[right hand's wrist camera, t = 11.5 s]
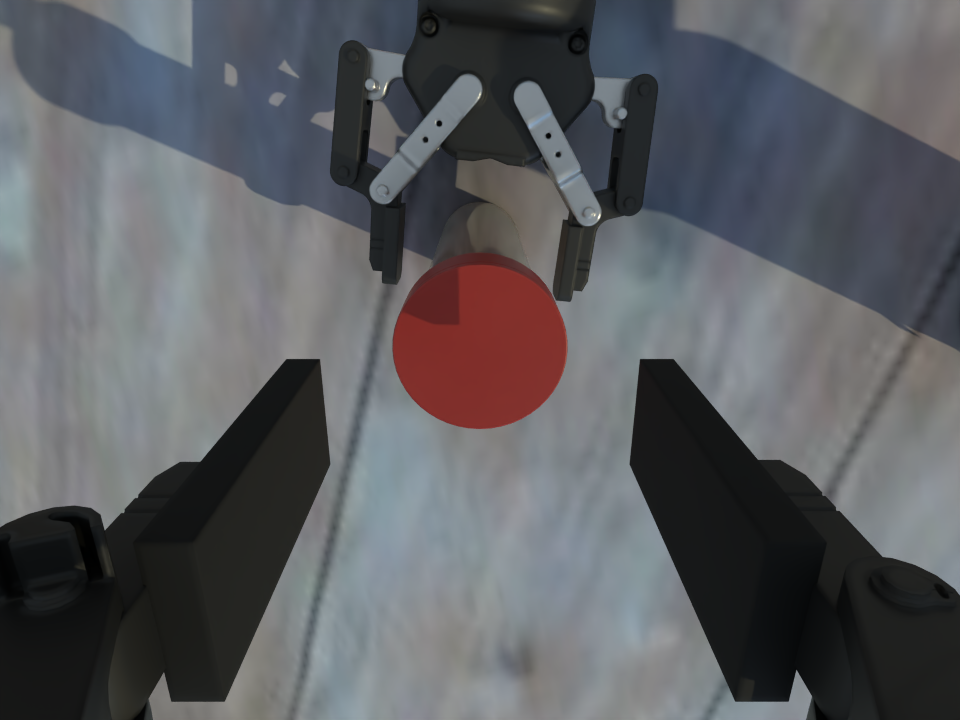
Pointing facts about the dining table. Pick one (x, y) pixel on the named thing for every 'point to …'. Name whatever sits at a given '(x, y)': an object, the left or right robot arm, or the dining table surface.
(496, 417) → the lid
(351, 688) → the dining table surface
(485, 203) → the wooden cylinder
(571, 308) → the dining table surface
